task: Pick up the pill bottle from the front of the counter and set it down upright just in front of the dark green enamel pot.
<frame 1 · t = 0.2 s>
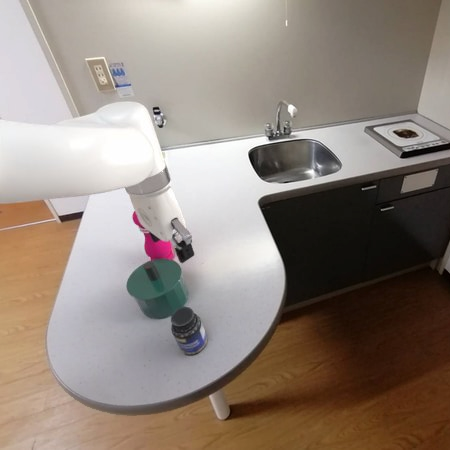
hand: (173, 248, 64), 21 cm above the worktop, tool pointing down, fingers open, 9 cm apart
pepper mill: (163, 258, 92), on the worktop
pill bottle: (194, 343, 71), on the worktop
pot: (165, 299, 80), on the worktop
pot lid: (155, 278, 74), point 8 cm above the worktop, touching pot
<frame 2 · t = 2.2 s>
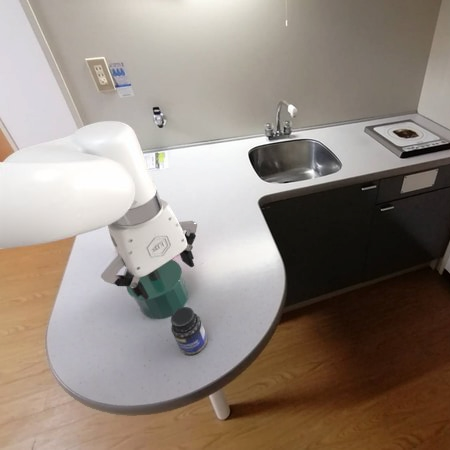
hand: (167, 278, 58), 21 cm above the worktop, tool pointing down, fingers open, 9 cm apart
nothing on the worktop moved.
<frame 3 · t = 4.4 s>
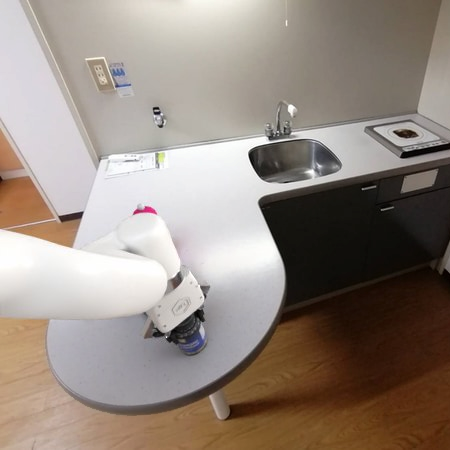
hand: (187, 328, 67), 6 cm above the worktop, tool pointing down, fingers closed on pill bottle, 6 cm apart
pill bottle: (194, 343, 71), on the worktop, touching gripper
everything else where it was.
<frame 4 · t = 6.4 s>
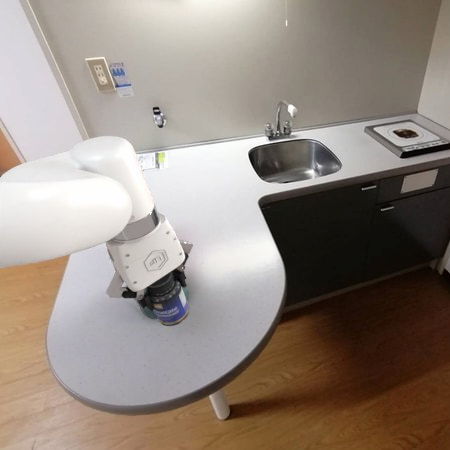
hand: (165, 294, 58), 19 cm above the worktop, tool pointing down, fingers closed on pill bottle, 6 cm apart
pill bottle: (174, 314, 62), point 13 cm above the worktop, touching gripper
everything else where it was.
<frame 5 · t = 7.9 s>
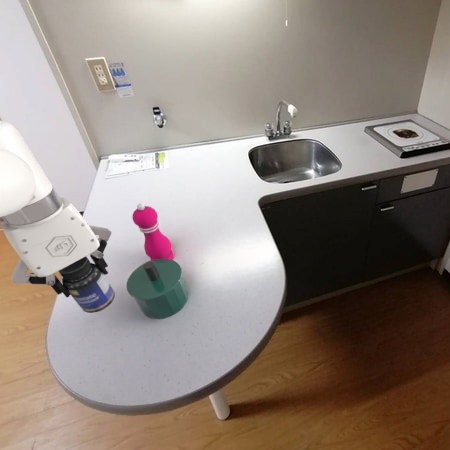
hand: (84, 280, 58), 21 cm above the worktop, tool pointing down, fingers closed on pill bottle, 6 cm apart
pill bottle: (100, 301, 62), point 15 cm above the worktop, touching gripper
everything else where it was.
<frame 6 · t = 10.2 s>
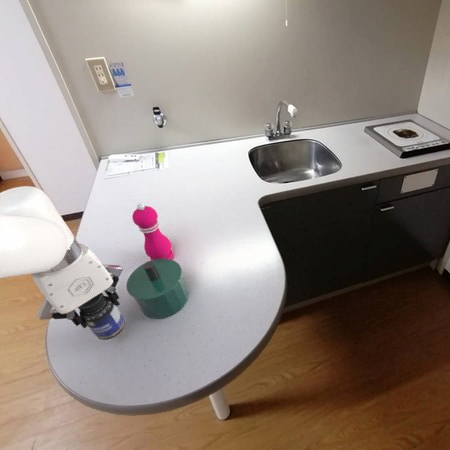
hand: (99, 312, 65), 10 cm above the worktop, tool pointing down, fingers closed on pill bottle, 6 cm apart
pill bottle: (112, 328, 69), point 4 cm above the worktop, touching gripper
everything else where it was.
when the fingers open (6 cm above the worktop, at t = 11.7 s): pill bottle stays where it is, on the worktop.
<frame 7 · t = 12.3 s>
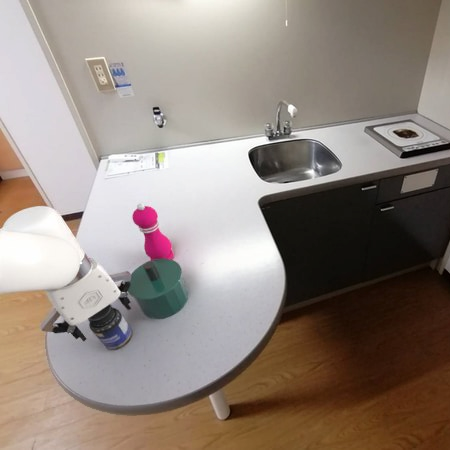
hand: (105, 320, 67), 7 cm above the worktop, tool pointing down, fingers open, 9 cm apart
pill bottle: (119, 338, 72), on the worktop
everything else where it was.
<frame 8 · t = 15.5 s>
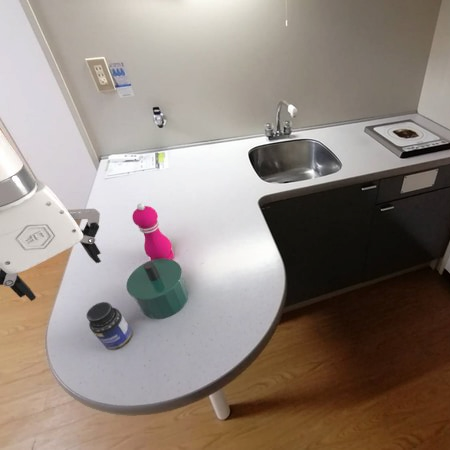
hand: (65, 275, 49), 28 cm above the worktop, tool pointing down, fingers open, 9 cm apart
nothing on the worktop moved.
at the end: pill bottle inside the target area on the worktop beside the pot (1.2 cm from its centre), on the worktop; pill bottle tilted 0°; the gripper is holding nothing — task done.
